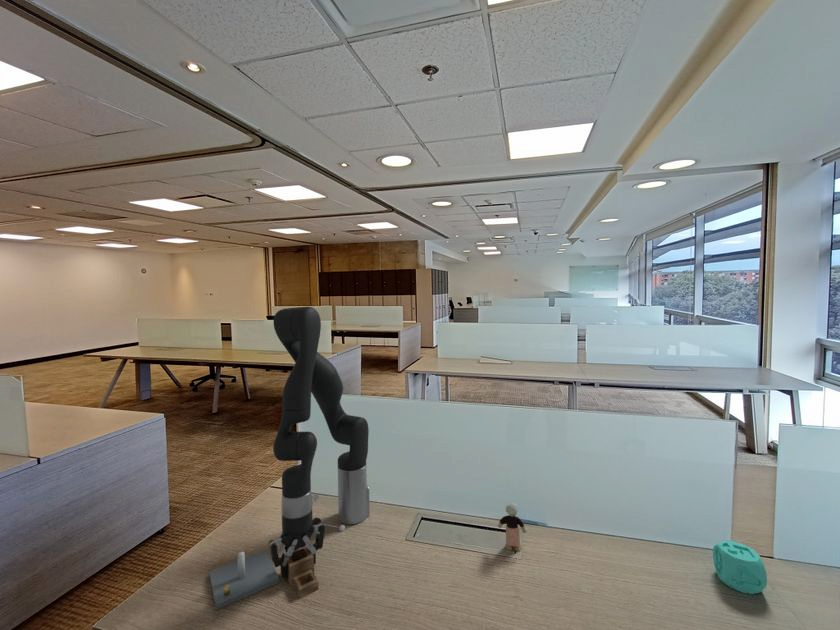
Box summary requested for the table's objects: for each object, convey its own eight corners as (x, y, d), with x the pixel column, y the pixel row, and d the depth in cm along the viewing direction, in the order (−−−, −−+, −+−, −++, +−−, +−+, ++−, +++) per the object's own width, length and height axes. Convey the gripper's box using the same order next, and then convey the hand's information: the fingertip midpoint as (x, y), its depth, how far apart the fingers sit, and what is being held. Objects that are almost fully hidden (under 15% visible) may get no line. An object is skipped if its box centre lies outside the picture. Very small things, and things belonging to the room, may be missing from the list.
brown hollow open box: (306, 562, 100) (305, 544, 100) (321, 587, 91) (320, 568, 91) (283, 572, 97) (283, 553, 97) (296, 599, 88) (296, 579, 88)
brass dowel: (229, 591, 89) (229, 583, 89) (230, 594, 88) (230, 586, 88) (223, 593, 88) (223, 585, 88) (224, 596, 87) (224, 588, 87)
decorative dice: (767, 598, 87) (767, 565, 86) (725, 589, 89) (726, 557, 89) (750, 574, 94) (751, 544, 94) (712, 567, 97) (712, 537, 97)
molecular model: (297, 553, 105) (296, 509, 104) (303, 522, 119) (302, 484, 119) (345, 546, 107) (344, 504, 107) (345, 516, 122) (344, 479, 122)
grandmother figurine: (524, 543, 107) (524, 500, 107) (526, 552, 103) (526, 508, 103) (497, 541, 108) (497, 499, 107) (498, 550, 104) (498, 506, 103)
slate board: (266, 554, 104) (265, 529, 103) (279, 582, 93) (278, 554, 93) (209, 576, 96) (208, 549, 95) (216, 610, 85) (215, 579, 85)
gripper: (318, 493, 103) (320, 552, 103) (264, 511, 94) (265, 575, 95) (329, 505, 97) (330, 568, 97) (271, 525, 88) (273, 594, 89)
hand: (298, 571), depth 96 cm, fingers closed on brown hollow open box, 6 cm apart
